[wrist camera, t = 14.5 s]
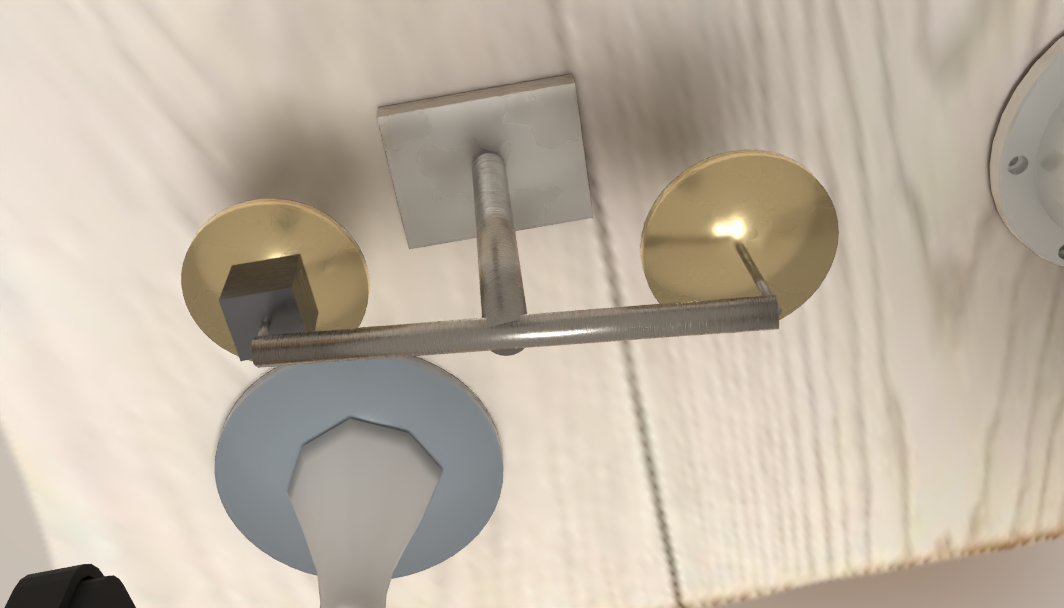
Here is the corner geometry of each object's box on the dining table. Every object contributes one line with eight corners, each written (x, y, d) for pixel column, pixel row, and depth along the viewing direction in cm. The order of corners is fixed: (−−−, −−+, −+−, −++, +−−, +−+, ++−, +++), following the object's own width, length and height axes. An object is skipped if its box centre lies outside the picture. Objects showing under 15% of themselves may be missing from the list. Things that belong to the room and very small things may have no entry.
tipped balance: (742, 38, 41) (896, 200, 27) (748, 182, 44) (888, 391, 30) (206, 132, 41) (88, 340, 27) (252, 268, 44) (168, 514, 30)
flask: (345, 393, 46) (323, 545, 38) (468, 463, 49) (474, 621, 41) (262, 490, 49) (223, 654, 40) (383, 552, 52) (372, 718, 43)
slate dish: (475, 324, 46) (475, 335, 45) (521, 543, 53) (523, 556, 53) (178, 375, 46) (174, 387, 46) (265, 586, 54) (262, 600, 53)
